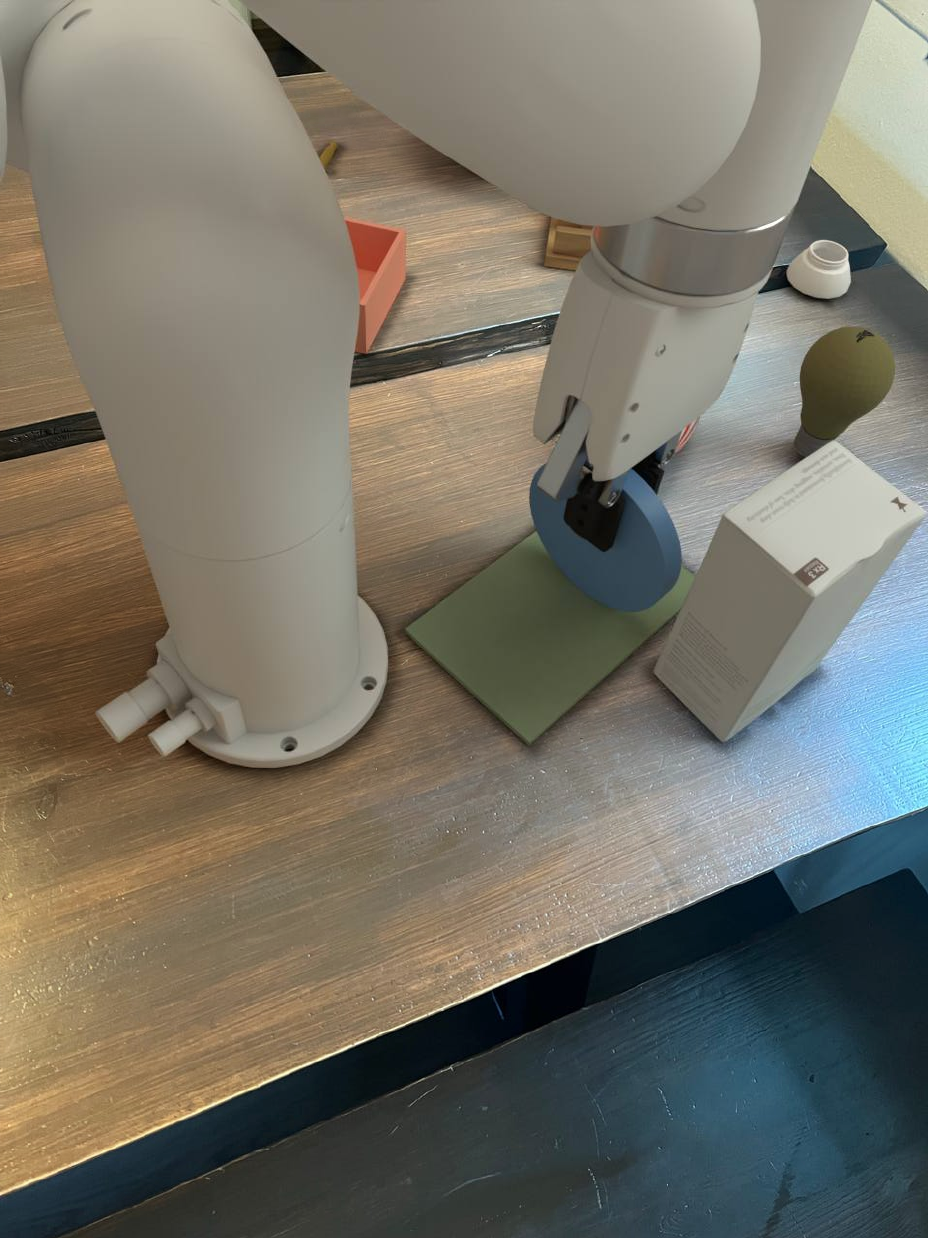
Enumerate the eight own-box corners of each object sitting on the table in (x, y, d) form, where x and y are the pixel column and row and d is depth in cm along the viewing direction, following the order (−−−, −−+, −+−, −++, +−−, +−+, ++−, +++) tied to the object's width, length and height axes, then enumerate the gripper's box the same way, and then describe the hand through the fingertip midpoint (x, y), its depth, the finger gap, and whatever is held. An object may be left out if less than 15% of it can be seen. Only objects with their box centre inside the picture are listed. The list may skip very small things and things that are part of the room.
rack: (680, 284, 77) (689, 251, 74) (544, 266, 77) (549, 232, 75) (680, 225, 82) (689, 192, 79) (552, 207, 82) (557, 174, 79)
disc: (644, 641, 56) (684, 533, 48) (521, 542, 60) (538, 425, 52) (659, 628, 57) (701, 518, 48) (536, 530, 60) (556, 413, 52)
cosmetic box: (742, 608, 58) (834, 428, 46) (819, 677, 56) (938, 505, 44) (645, 678, 55) (716, 504, 43) (722, 754, 53) (821, 591, 40)
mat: (528, 745, 52) (529, 742, 52) (404, 632, 56) (404, 628, 56) (705, 588, 59) (707, 584, 59) (584, 497, 63) (585, 493, 63)
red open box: (405, 278, 75) (407, 156, 67) (366, 354, 70) (363, 231, 62) (190, 230, 77) (167, 106, 69) (136, 299, 71) (104, 174, 63)
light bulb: (780, 414, 69) (833, 296, 61) (856, 444, 67) (920, 327, 59) (756, 462, 66) (808, 344, 58) (834, 494, 64) (899, 378, 56)
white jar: (826, 261, 80) (774, 269, 79) (840, 228, 78) (786, 237, 76) (858, 297, 77) (804, 306, 76) (873, 265, 75) (817, 274, 74)
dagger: (300, 215, 79) (277, 204, 79) (298, 223, 80) (276, 213, 80) (345, 144, 85) (324, 134, 85) (344, 153, 86) (323, 143, 85)
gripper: (732, 117, 43) (644, 419, 58) (482, 251, 36) (455, 556, 51) (874, 190, 41) (743, 488, 56) (633, 351, 34) (558, 643, 49)
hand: (605, 519), depth 53 cm, fingers closed
